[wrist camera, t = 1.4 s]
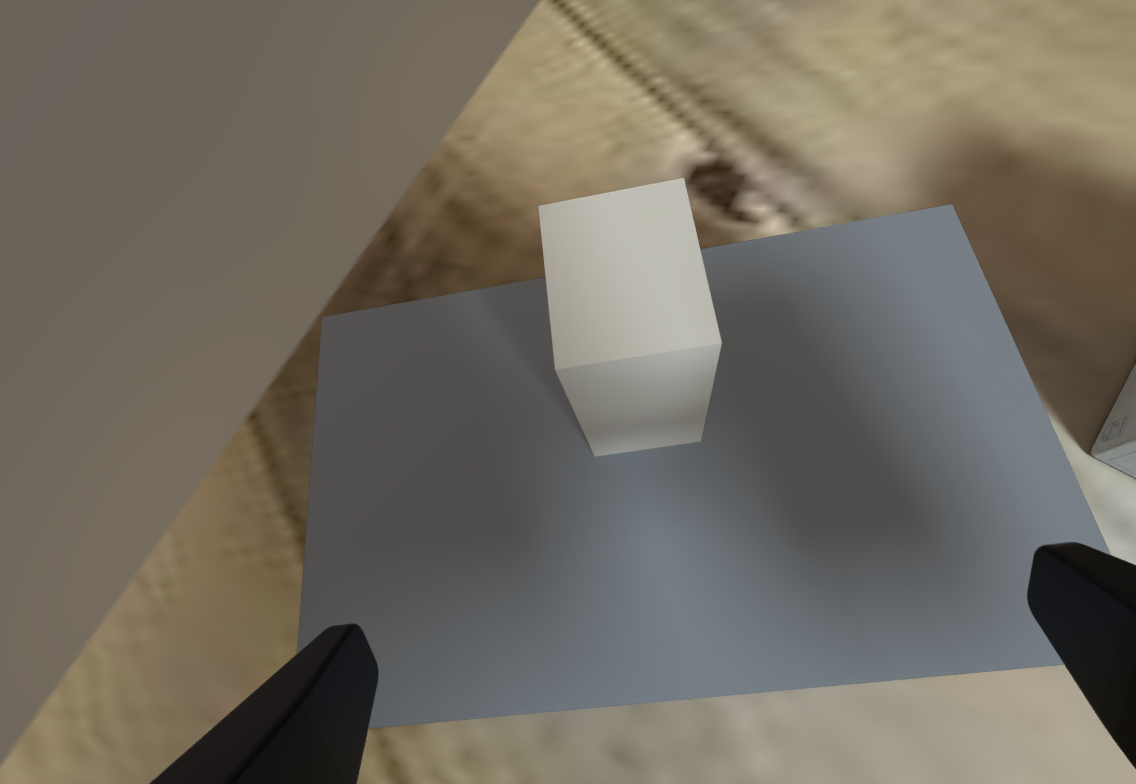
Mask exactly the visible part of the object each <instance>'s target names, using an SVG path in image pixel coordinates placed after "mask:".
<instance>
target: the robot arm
mask: <svg viewBox="0 0 1136 784" xmlns="http://www.w3.org/2000/svg"><path fill="white" fill-rule="evenodd" d="M1027 602H1028V605H1029V608H1030V611H1031V613H1032V615H1033V617H1034V618H1035V620H1036V621H1037V623H1038V624H1039V626H1040V628H1041V629H1042V631H1043V632H1044V634H1045V635H1046V637H1047V638H1048V640H1049V642H1050V643H1051V645H1052V646H1053V648H1054V649H1055V651H1056V652H1057V654H1058V655H1059V657H1060V659H1061V660H1062V662H1063V663H1064V665H1065V666H1066V668H1067V669H1068V671H1069V673H1070V674H1071V676H1072V677H1073V679H1074V680H1075V682H1076V683H1077V685H1078V687H1079V688H1080V690H1081V691H1082V693H1083V694H1084V696H1085V697H1086V699H1087V701H1088V702H1089V704H1090V705H1091V707H1092V708H1093V710H1094V711H1095V713H1096V715H1097V716H1098V718H1099V719H1100V721H1101V722H1102V723H1103V725H1104V726H1105V728H1106V729H1107V731H1108V732H1109V734H1110V735H1111V737H1112V738H1113V739H1114V741H1115V742H1116V743H1117V745H1118V746H1119V748H1120V749H1121V750H1122V752H1123V753H1124V754H1125V756H1126V757H1127V758H1128V760H1129V761H1130V762H1131V764H1132V765H1133V766H1134V767H1135V769H1136V565H1134V564H1132V563H1129V562H1127V561H1124V560H1122V559H1119V558H1117V557H1114V556H1112V555H1109V554H1107V553H1104V552H1102V551H1099V550H1097V549H1094V548H1092V547H1089V546H1087V545H1084V544H1081V543H1078V542H1064V543H1056V544H1047V545H1042V546H1040V547H1038V548H1037V550H1036V551H1035V552H1034V556H1033V561H1032V567H1031V573H1030V578H1029V584H1028V590H1027ZM378 677H379V670H378V664H377V661H376V659H375V656H374V654H373V652H372V650H371V647H370V645H369V643H368V641H367V638H366V636H365V634H364V632H363V630H362V628H361V627H360V626H359V625H358V624H354V623H351V624H342V625H334V626H330V627H328V628H326V629H325V630H324V631H323V632H322V633H320V634H319V635H318V636H317V637H316V638H315V639H314V640H312V641H311V642H310V643H309V644H308V645H307V646H306V647H304V648H303V649H302V650H301V651H300V652H299V653H298V654H297V655H295V656H294V657H293V658H292V659H291V660H290V661H289V662H287V663H286V664H285V665H284V666H283V667H282V668H281V669H279V670H278V671H277V672H276V673H275V674H274V675H273V676H271V677H270V678H269V679H268V680H267V681H266V682H265V683H263V684H262V685H261V686H260V687H259V688H258V689H257V690H255V691H254V692H253V693H252V694H251V695H250V696H249V697H248V698H246V699H245V700H244V701H243V702H242V703H241V704H240V705H238V706H237V707H236V708H235V709H234V710H233V711H232V712H230V713H229V714H228V715H227V716H226V717H225V718H224V719H222V720H221V721H220V722H219V723H218V724H217V725H216V726H214V727H213V728H212V729H211V730H210V731H209V732H208V733H207V734H205V735H204V736H203V737H202V738H201V739H200V740H199V741H197V742H196V743H195V744H194V745H193V746H192V747H191V748H189V749H188V750H187V751H186V752H185V753H184V754H183V755H181V756H180V757H179V758H178V759H177V760H176V761H175V762H173V763H172V764H171V765H170V766H169V767H168V768H167V769H165V770H164V771H163V772H162V773H161V774H160V775H159V776H157V777H156V778H155V779H154V780H153V781H152V782H151V783H150V784H357V780H358V775H359V770H360V766H361V761H362V756H363V751H364V747H365V742H366V737H367V732H368V727H369V723H370V718H371V713H372V708H373V704H374V699H375V694H376V689H377V684H378Z"/></svg>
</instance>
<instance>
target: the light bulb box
mask: <svg viewBox="0 0 1136 784" xmlns="http://www.w3.org/2000/svg"><path fill="white" fill-rule="evenodd" d="M1091 455H1092V456H1093V457H1095V458H1097V459H1098V460H1100V461H1102V462H1104V463H1106V464H1108V465H1110V466H1112V467H1114V468H1116V469H1118V470H1120V471H1122V472H1124V473H1126V474H1128V475H1130V476H1132V477H1134V478H1136V363H1135V365H1134V367H1133V369H1132V371H1131V373H1130V375H1129V377H1128V379H1127V381H1126V383H1125V385H1124V387H1123V389H1122V391H1121V393H1120V395H1119V397H1118V398H1117V400H1116V402H1115V404H1114V406H1113V408H1112V410H1111V412H1110V414H1109V416H1108V418H1107V420H1106V421H1105V423H1104V425H1103V427H1102V429H1101V431H1100V433H1099V435H1098V437H1097V439H1096V441H1095V443H1094V445H1093V447H1092V450H1091Z"/></svg>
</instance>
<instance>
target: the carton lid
mask: <svg viewBox="0 0 1136 784" xmlns="http://www.w3.org/2000/svg"><path fill="white" fill-rule="evenodd" d="M538 207H539V217H540V227H541V236H542V246H543V256H544V266H545V276H546V277H543V278H537V279H532V280H526V281H521V282H515V283H509V284H504V285H498V286H493V287H487V288H481V289H476V290H470V291H465V292H459V293H454V294H448V295H442V296H437V297H431V298H426V299H420V300H415V301H409V302H403V303H398V304H392V305H387V306H381V307H376V308H370V309H364V310H359V311H353V312H348V313H342V314H337V315H331V316H325V317H322V324H321V337H320V350H319V364H318V377H317V391H316V404H315V418H314V431H313V444H312V458H311V471H310V485H309V498H308V512H307V525H306V538H305V552H304V565H303V579H302V592H301V605H300V619H299V632H298V646H297V654H298V653H299V652H300V651H301V650H302V649H303V648H304V647H306V646H307V645H308V644H309V643H310V642H311V641H312V640H314V639H315V638H316V637H317V636H318V635H319V634H320V633H322V632H323V631H324V630H325V629H326V628H328V627H330V626H334V625H342V624H351V623H354V624H358V625H359V626H360V627H361V628H362V630H363V632H364V634H365V636H366V638H367V641H368V643H369V645H370V647H371V650H372V652H373V654H374V656H375V659H376V661H377V664H378V670H379V677H378V684H377V689H376V694H375V699H374V704H373V708H372V713H371V718H370V723H369V727H368V729H369V728H379V727H390V726H401V725H412V724H423V723H434V722H445V721H456V720H467V719H477V718H488V717H499V716H510V715H521V714H532V713H543V712H554V711H565V710H576V709H586V708H597V707H608V706H619V705H630V704H641V703H652V702H663V701H674V700H685V699H695V698H706V697H717V696H728V695H739V694H750V693H761V692H772V691H783V690H794V689H804V688H815V687H826V686H837V685H848V684H859V683H870V682H881V681H892V680H902V679H913V678H924V677H935V676H946V675H957V674H968V673H979V672H990V671H1001V670H1011V669H1022V668H1033V667H1044V666H1055V665H1064V663H1063V662H1062V660H1061V659H1060V657H1059V655H1058V654H1057V652H1056V651H1055V649H1054V648H1053V646H1052V645H1051V643H1050V642H1049V640H1048V638H1047V637H1046V635H1045V634H1044V632H1043V631H1042V629H1041V628H1040V626H1039V624H1038V623H1037V621H1036V620H1035V618H1034V617H1033V615H1032V613H1031V611H1030V608H1029V605H1028V602H1027V590H1028V584H1029V578H1030V573H1031V567H1032V561H1033V556H1034V552H1035V551H1036V550H1037V548H1038V547H1040V546H1042V545H1047V544H1056V543H1064V542H1078V543H1081V544H1084V545H1087V546H1089V547H1092V548H1094V549H1097V550H1099V551H1102V552H1104V553H1107V554H1109V555H1111V554H1110V552H1109V549H1108V547H1107V545H1106V543H1105V541H1104V538H1103V536H1102V534H1101V532H1100V530H1099V527H1098V525H1097V523H1096V521H1095V518H1094V516H1093V514H1092V512H1091V510H1090V507H1089V505H1088V503H1087V501H1086V499H1085V496H1084V494H1083V492H1082V490H1081V488H1080V485H1079V483H1078V481H1077V479H1076V477H1075V474H1074V472H1073V470H1072V468H1071V465H1070V463H1069V461H1068V459H1067V457H1066V454H1065V452H1064V450H1063V448H1062V446H1061V443H1060V441H1059V439H1058V437H1057V435H1056V432H1055V430H1054V428H1053V426H1052V424H1051V421H1050V419H1049V417H1048V415H1047V412H1046V410H1045V408H1044V406H1043V404H1042V401H1041V399H1040V397H1039V395H1038V393H1037V390H1036V388H1035V386H1034V384H1033V382H1032V379H1031V377H1030V375H1029V373H1028V371H1027V368H1026V366H1025V364H1024V362H1023V359H1022V357H1021V355H1020V353H1019V351H1018V348H1017V346H1016V344H1015V342H1014V340H1013V337H1012V335H1011V333H1010V331H1009V329H1008V326H1007V324H1006V322H1005V320H1004V318H1003V315H1002V313H1001V311H1000V309H999V306H998V304H997V302H996V300H995V298H994V295H993V293H992V291H991V289H990V287H989V284H988V282H987V280H986V278H985V276H984V273H983V271H982V269H981V267H980V264H979V262H978V260H977V258H976V256H975V253H974V251H973V249H972V247H971V245H970V242H969V240H968V238H967V236H966V234H965V231H964V229H963V227H962V225H961V223H960V220H959V218H958V216H957V214H956V211H955V209H954V207H953V205H952V204H950V205H944V206H939V207H933V208H927V209H922V210H916V211H911V212H905V213H900V214H894V215H888V216H883V217H877V218H872V219H866V220H861V221H855V222H849V223H844V224H838V225H833V226H827V227H822V228H816V229H810V230H805V231H799V232H794V233H788V234H783V235H777V236H771V237H766V238H760V239H755V240H749V241H743V242H738V243H732V244H727V245H721V246H716V247H710V248H704V249H700V246H699V242H698V238H697V233H696V229H695V225H694V220H693V216H692V211H691V207H690V203H689V198H688V194H687V190H686V185H685V181H684V178H680V179H675V180H670V181H665V182H660V183H654V184H649V185H644V186H639V187H634V188H629V189H624V190H618V191H613V192H608V193H603V194H598V195H593V196H587V197H582V198H577V199H572V200H567V201H562V202H557V203H551V204H546V205H541V206H538Z"/></svg>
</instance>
